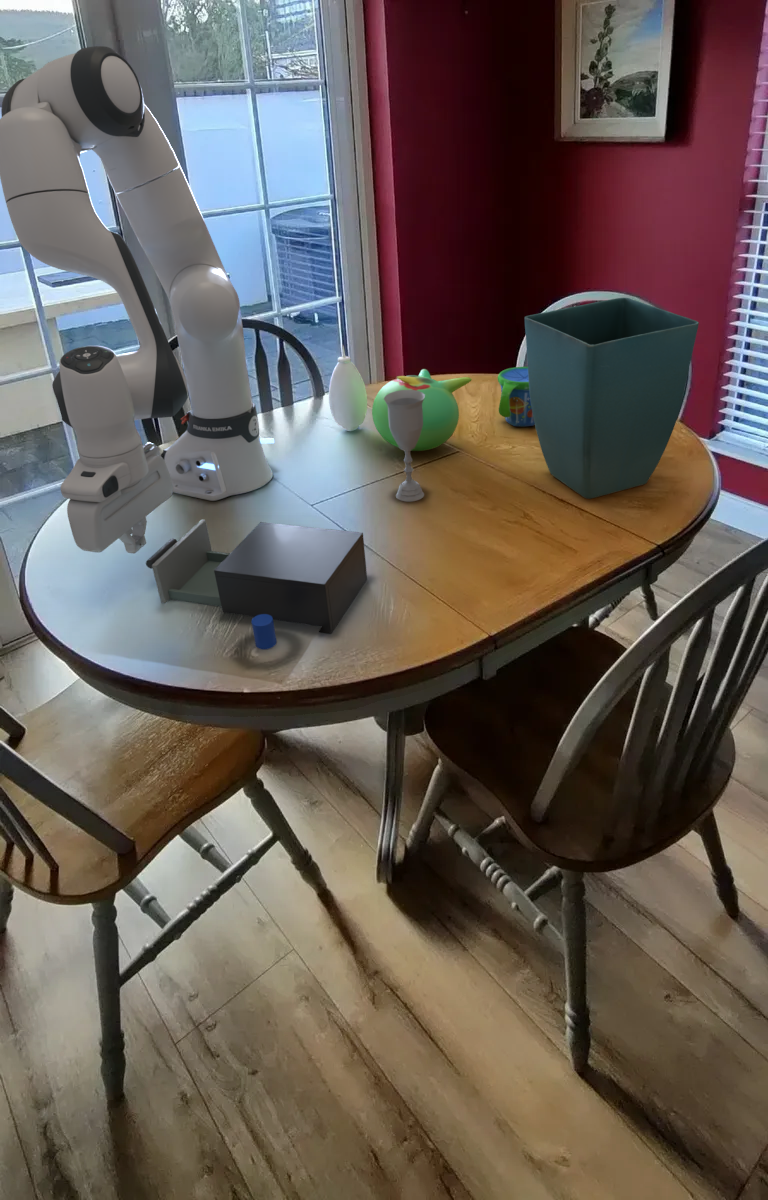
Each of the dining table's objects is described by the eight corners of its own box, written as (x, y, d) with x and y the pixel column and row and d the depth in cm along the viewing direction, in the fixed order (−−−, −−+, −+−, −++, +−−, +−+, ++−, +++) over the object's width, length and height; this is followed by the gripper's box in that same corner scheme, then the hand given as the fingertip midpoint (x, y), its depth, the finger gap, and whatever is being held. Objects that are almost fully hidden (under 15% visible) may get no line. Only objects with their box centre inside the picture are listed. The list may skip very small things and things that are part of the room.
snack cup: (526, 405, 181) (527, 359, 175) (566, 415, 174) (569, 368, 169) (479, 427, 172) (479, 379, 166) (520, 439, 165) (521, 389, 160)
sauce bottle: (347, 420, 181) (339, 337, 171) (376, 426, 177) (369, 341, 167) (325, 432, 175) (315, 347, 166) (354, 438, 171) (346, 352, 162)
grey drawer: (139, 602, 122) (128, 562, 118) (188, 555, 133) (179, 517, 130) (263, 620, 116) (256, 578, 112) (304, 569, 127) (298, 529, 123)
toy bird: (359, 444, 169) (353, 373, 161) (425, 422, 176) (421, 354, 168) (412, 471, 156) (408, 395, 148) (480, 446, 164) (480, 373, 156)
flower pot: (578, 515, 137) (590, 343, 121) (518, 471, 152) (522, 315, 137) (679, 489, 142) (702, 322, 127) (611, 449, 158) (624, 296, 143)
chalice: (425, 504, 144) (421, 405, 134) (387, 503, 145) (380, 404, 135) (431, 486, 150) (428, 389, 140) (395, 485, 151) (388, 389, 141)
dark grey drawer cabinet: (223, 618, 118) (213, 570, 114) (268, 567, 129) (260, 521, 125) (331, 634, 113) (324, 584, 108) (367, 579, 124) (363, 532, 120)
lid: (254, 629, 115) (249, 600, 112) (304, 637, 113) (300, 607, 110) (228, 662, 109) (222, 632, 106) (281, 670, 107) (275, 640, 104)
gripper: (137, 436, 128) (156, 516, 135) (51, 492, 112) (78, 579, 119) (172, 439, 126) (190, 520, 133) (90, 497, 110) (114, 585, 117)
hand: (136, 548), depth 126 cm, fingers closed
